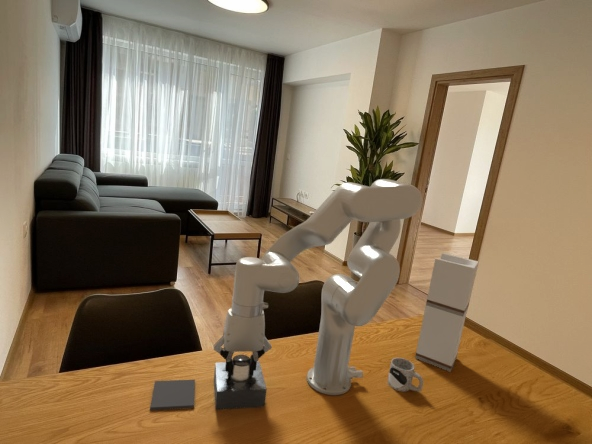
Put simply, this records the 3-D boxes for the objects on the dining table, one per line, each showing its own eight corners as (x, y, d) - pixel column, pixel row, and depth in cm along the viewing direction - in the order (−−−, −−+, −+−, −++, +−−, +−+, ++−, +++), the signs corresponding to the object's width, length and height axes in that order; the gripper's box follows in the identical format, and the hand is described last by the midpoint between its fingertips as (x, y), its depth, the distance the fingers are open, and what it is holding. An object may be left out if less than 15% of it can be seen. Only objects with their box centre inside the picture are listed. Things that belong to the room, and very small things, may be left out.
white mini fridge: (456, 358, 130) (478, 261, 123) (450, 372, 121) (474, 268, 114) (422, 346, 136) (442, 252, 129) (414, 358, 127) (435, 258, 120)
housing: (257, 377, 106) (259, 361, 105) (264, 406, 95) (266, 389, 94) (213, 379, 103) (215, 362, 102) (215, 409, 92) (217, 391, 91)
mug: (383, 383, 111) (387, 362, 110) (394, 374, 116) (398, 355, 115) (415, 401, 105) (419, 379, 103) (425, 391, 110) (429, 371, 108)
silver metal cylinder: (246, 386, 102) (250, 353, 100) (248, 398, 97) (252, 364, 95) (227, 386, 101) (231, 354, 99) (229, 399, 96) (232, 365, 94)
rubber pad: (194, 382, 101) (195, 379, 101) (194, 408, 91) (194, 405, 91) (154, 383, 98) (155, 381, 98) (149, 410, 89) (150, 407, 89)
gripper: (277, 301, 100) (270, 363, 104) (211, 300, 96) (206, 365, 99) (283, 314, 93) (275, 380, 96) (212, 313, 88) (206, 383, 92)
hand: (240, 372), depth 98 cm, fingers closed on silver metal cylinder, 5 cm apart
